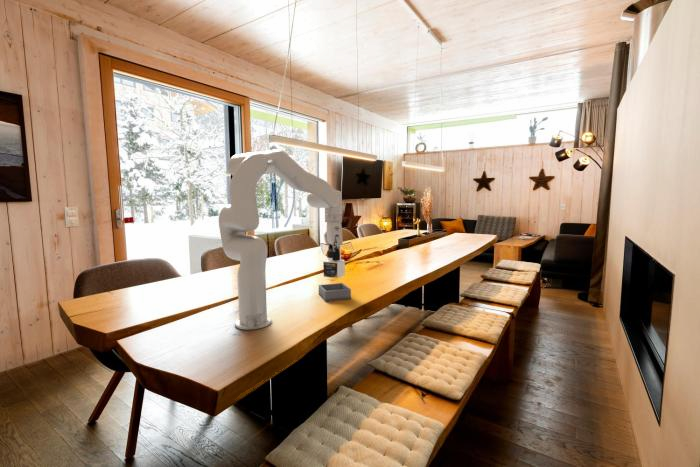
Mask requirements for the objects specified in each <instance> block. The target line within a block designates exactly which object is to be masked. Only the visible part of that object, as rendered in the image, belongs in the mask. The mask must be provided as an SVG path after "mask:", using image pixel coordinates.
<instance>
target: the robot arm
mask: <svg viewBox="0 0 700 467" xmlns="http://www.w3.org/2000/svg"><path fill="white" fill-rule="evenodd" d="M227 170H228V173H229V174H230V175H231V176H232V178H231V179H230V183H229V191H228V192H229V199H230V200H229V201H230V204H227V205H225V206H224V207H223V208H222V209H221V210H220V212H219V215H218V227H219V234H220V238H221V240H220V241H221V245H222V249H223V252H224V254H225V255H226V257H227V258H229V259H230V260H234V261H237V262H238V261H239V262H240V263H239V267H238V269H237V274H236V275H237V276H236V277H237V293H238V294H237V296H238V301H237V302H238V318H237V319H236V320H235V321H234V326H235V327H236V328H237V329H240V330H247V331H248V330H249V331H250V330H252V331H253V330H259V329H262V328H265V327H268V326H270V325H271V324H272V322H273V320H272V317H271V316H269V315H268V311H267V309H268V307H267V305H268V304H267V283H266V282H267V280H266V279H267V278H266V265H267V264H266V263H267V258H268V257H267V256H268V245H267V243H266V242H265V240H264V239H263V238H262V237H259V236H257V235H251V234H246V233H251V232H253V231H255V230H257V229H258V227H259V224H260V214H259V207H258V203H257V202H258V200H257V185H258V183H259V180H260V179H261V178H262V177H263V175H267V174H274V175H275V176H277V177H279V179H281V181H283V182H284V183H285V184H286V185H288V186H289V187H290V188H291V189H293V190H296V191H299V192H303V193H308V194H307V196H306V202H307V203H308V205H309V206H311V207H312V208H315V209H317V208H318V209H324V222H325V223H326V242H327V244H328V246H327V248H328V250H330V249H333V252H332V254H333V261H338V260H340V251H341V245H342V244H343V243H344V242H343V228H342V227H343V226H342V223H343V208H342V207H343V205H342V204H343V202H342V201H343V199H342V198H343V196H342V195H343V194H342V191H340V190H338V189H337V190H336V189H335V188H334V187H333V186H332V185H331V184H329V183H328V181H326V180H325V179H323V178H321V177H319V176H317V175H315V174H313V173H310V172H308V171H307V170H305V169H304V168H303V167H301V165H300V164H299V163H298V162H297V161H295V160H294V159H293V158H292V157H291V156H290V155H289V154H288V153H286V152H285V151H284V150H281V149H271V150H265V151H253V152H245V153H239V154H234V155H232V156H231V157H230V158H229V159H228V161H227ZM328 250H327V251H328Z"/></svg>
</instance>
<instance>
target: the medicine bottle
mask: <svg viewBox="0 0 700 467" xmlns="http://www.w3.org/2000/svg"><path fill="white" fill-rule="evenodd" d="M332 252H333V249H330V250H327V251H326V255H327V256H326V258H327V259H326V260H324V261H322V262H323V263H322V264H323V267H322V268H323V277H324V278H331V279H339V278H341V277H344V276H345V275H346V264H345V263H346V260H345V259H342V251H341V250H340V260H338V261H333V254H332Z"/></svg>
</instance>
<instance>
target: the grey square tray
mask: <svg viewBox="0 0 700 467" xmlns="http://www.w3.org/2000/svg"><path fill="white" fill-rule="evenodd" d="M351 293H352V289H351V288H350V287H349V286H348V285H346V284H345V283H344V282H336V283H328V284H327V283H325V284H319V285H318V295H319V297H320V298H321V299H322V300H323V301H324V302H325V303H327V302H335V301H345V300H346V301H347V300H351V299H352V295H351Z"/></svg>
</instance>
